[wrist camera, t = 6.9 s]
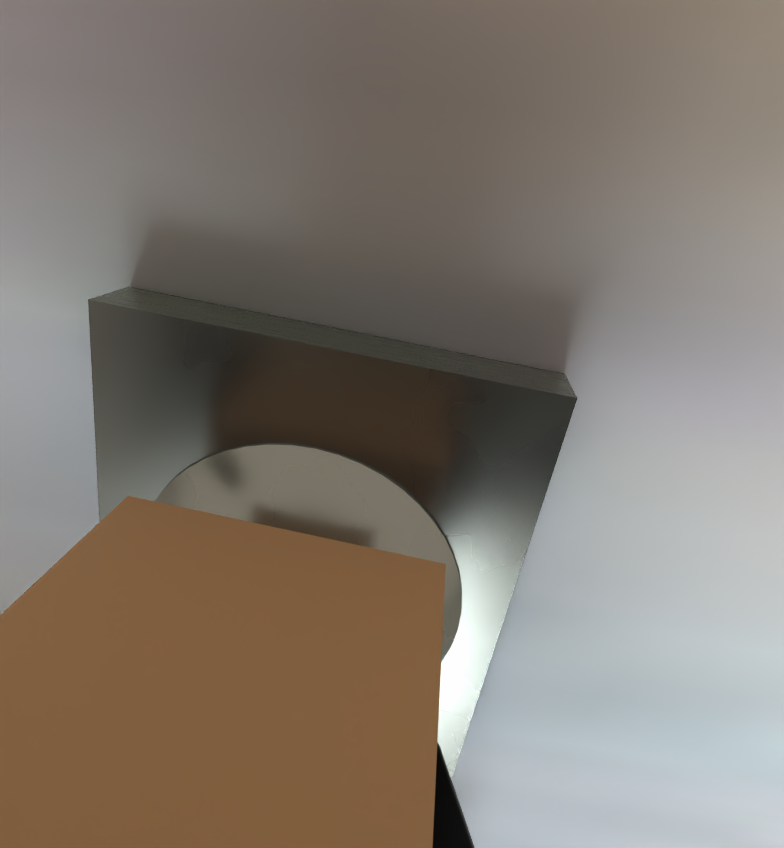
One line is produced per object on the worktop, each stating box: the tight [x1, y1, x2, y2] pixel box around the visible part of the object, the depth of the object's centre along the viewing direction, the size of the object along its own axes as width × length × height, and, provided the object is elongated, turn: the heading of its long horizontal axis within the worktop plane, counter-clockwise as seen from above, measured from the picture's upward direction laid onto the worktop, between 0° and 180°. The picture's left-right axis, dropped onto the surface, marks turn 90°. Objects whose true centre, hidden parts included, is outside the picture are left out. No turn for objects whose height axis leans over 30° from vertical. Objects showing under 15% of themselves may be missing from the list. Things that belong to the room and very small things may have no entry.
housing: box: [0, 496, 446, 848], centre depth 7 cm, size 5×5×6 cm
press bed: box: [88, 287, 577, 779], centre depth 12 cm, size 10×8×1 cm
